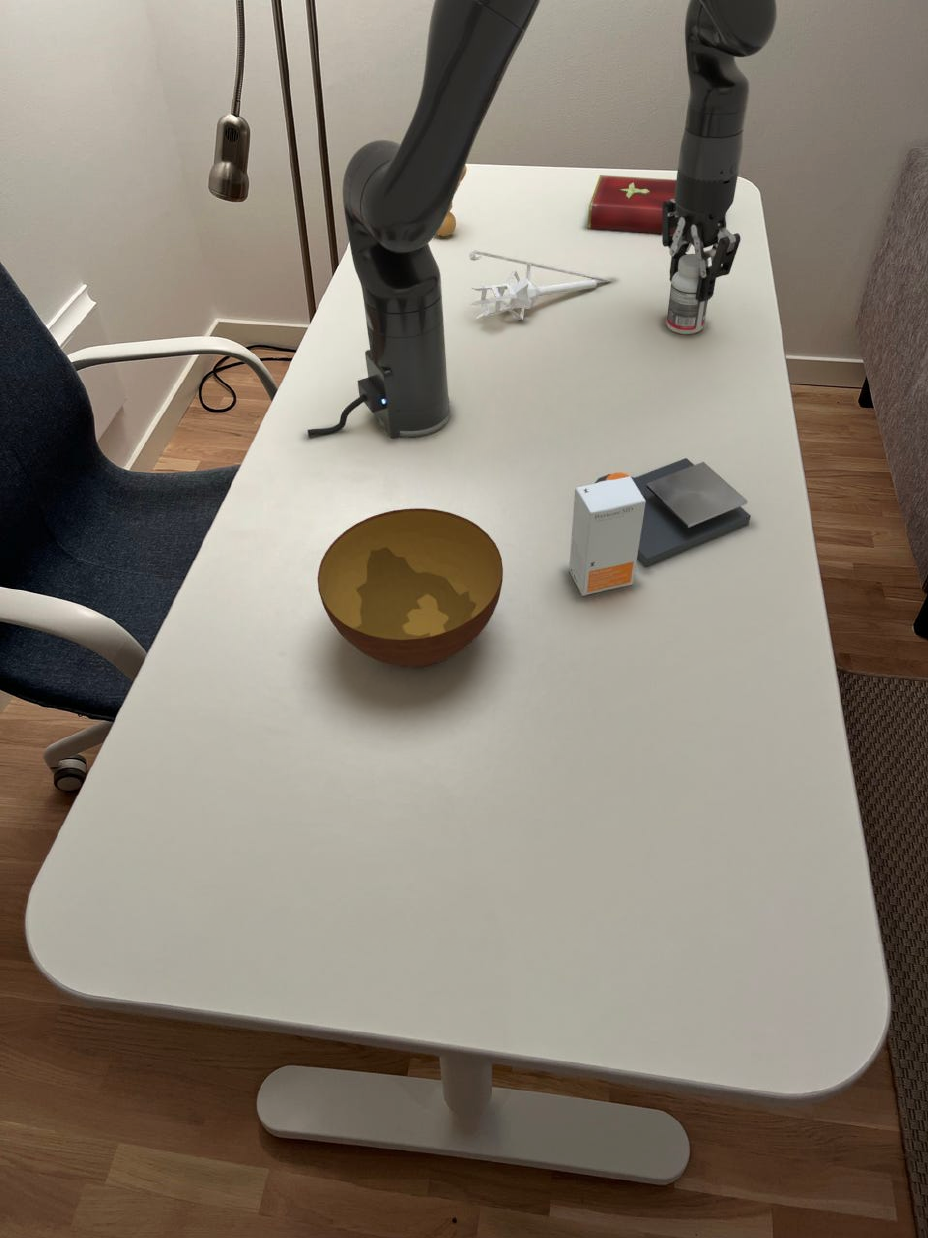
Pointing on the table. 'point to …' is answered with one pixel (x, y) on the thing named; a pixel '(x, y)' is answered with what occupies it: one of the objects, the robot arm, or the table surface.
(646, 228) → the hardcover book
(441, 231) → the figurine
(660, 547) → the scale
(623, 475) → the tare button
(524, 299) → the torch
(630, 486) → the cosmetic box
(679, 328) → the pill bottle
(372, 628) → the bowl
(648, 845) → the table surface
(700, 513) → the weighing pan
